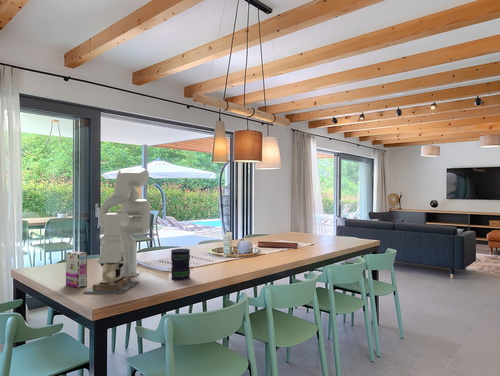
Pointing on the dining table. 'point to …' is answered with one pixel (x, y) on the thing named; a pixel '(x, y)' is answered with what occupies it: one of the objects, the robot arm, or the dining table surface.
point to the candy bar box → (76, 269)
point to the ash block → (110, 273)
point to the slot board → (112, 287)
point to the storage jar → (180, 264)
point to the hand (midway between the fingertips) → (112, 276)
